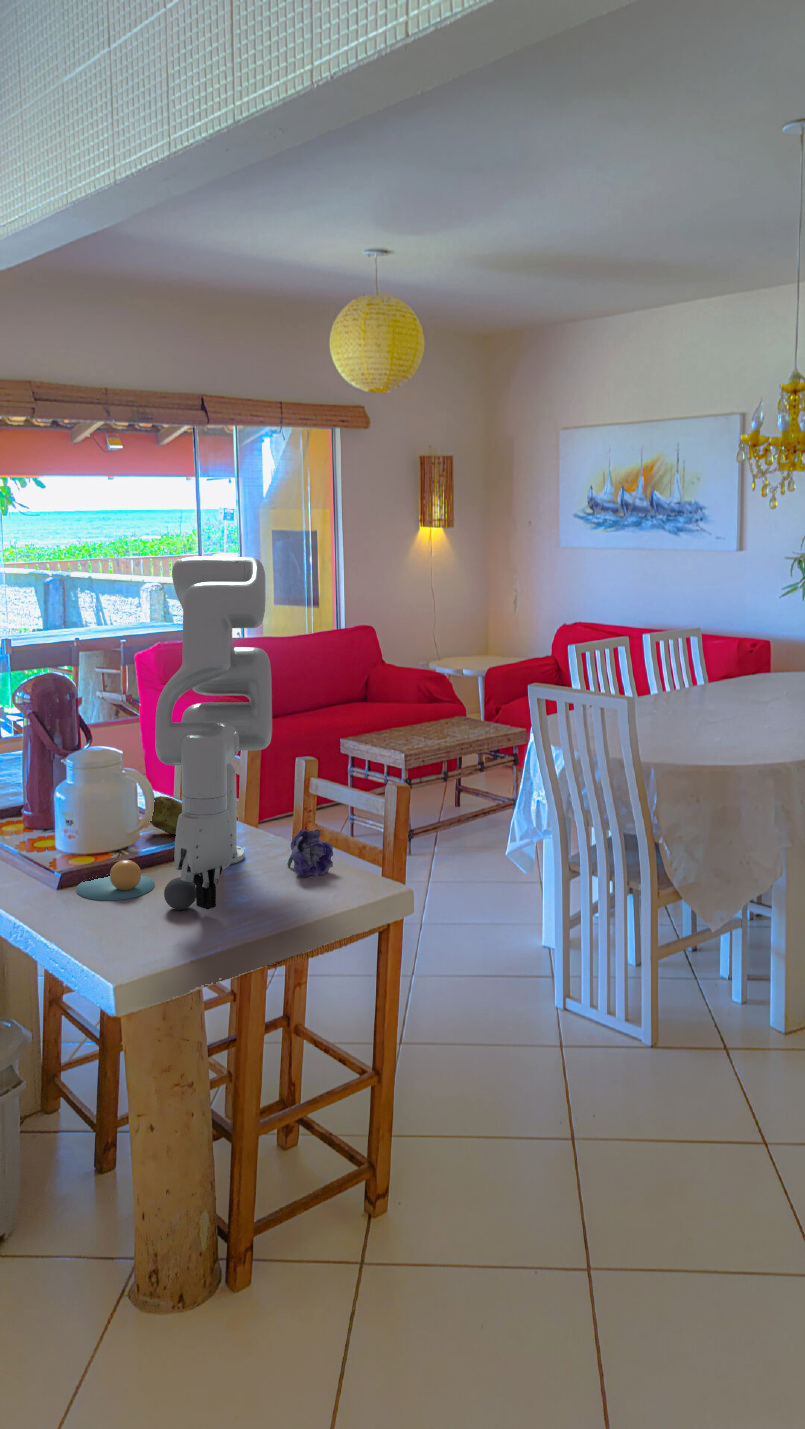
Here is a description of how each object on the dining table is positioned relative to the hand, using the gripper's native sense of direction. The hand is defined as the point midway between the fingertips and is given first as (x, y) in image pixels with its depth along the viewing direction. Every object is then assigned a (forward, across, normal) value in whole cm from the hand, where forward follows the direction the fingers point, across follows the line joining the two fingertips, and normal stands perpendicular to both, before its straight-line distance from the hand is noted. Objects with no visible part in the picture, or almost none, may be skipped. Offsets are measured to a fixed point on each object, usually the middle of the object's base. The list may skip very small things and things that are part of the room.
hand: (206, 906), depth 185 cm
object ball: (-1, 0, -20) cm, 20 cm away
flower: (+2, -28, -1) cm, 28 cm away
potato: (+2, -30, -39) cm, 49 cm away
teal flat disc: (+2, 0, -23) cm, 23 cm away
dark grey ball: (-1, +1, -6) cm, 6 cm away
